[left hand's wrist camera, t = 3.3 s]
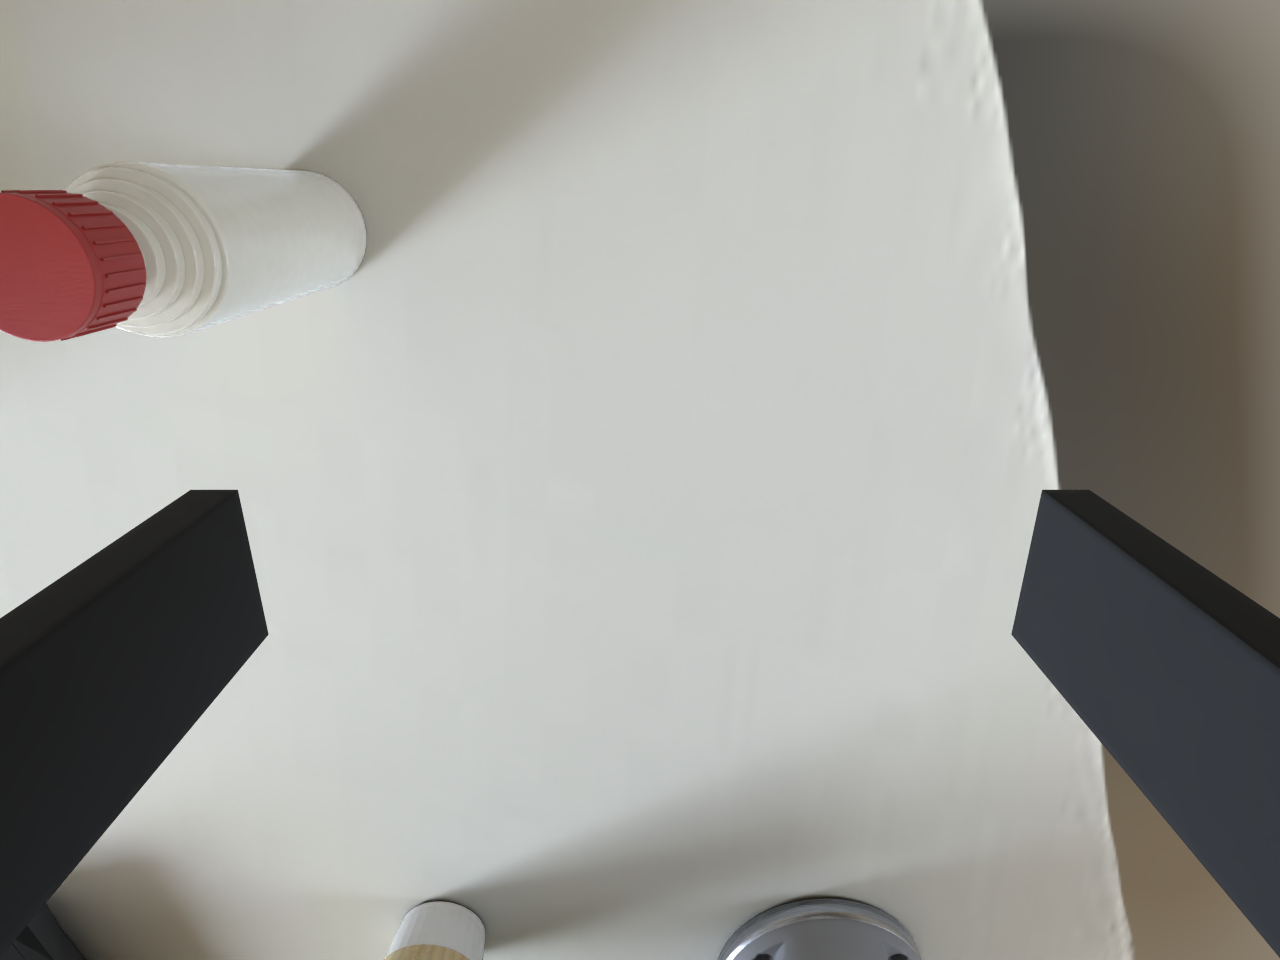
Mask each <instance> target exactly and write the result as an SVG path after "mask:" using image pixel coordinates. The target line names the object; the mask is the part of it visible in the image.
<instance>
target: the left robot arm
mask: <svg viewBox="0 0 1280 960" xmlns="http://www.w3.org/2000/svg"><path fill="white" fill-rule="evenodd" d="M267 636H268V630H267V625H266V621H265V616H264V611H263V607H262V602H261V597H260V592H259V588H258V583H257V578H256V574H255V569H254V564H253V560H252V555H251V550H250V545H249V541H248V536H247V531H246V527H245V522H244V517H243V512H242V508H241V503H240V498H239V494H238V490H190V491H188V492H187V493H185V494H184V495H183V496H181V497H180V498H178V499H177V500H175V501H174V502H172V503H171V504H169V505H168V506H166V507H165V508H163V509H162V510H160V511H159V512H157V513H156V514H154V515H153V516H151V517H150V518H148V519H147V520H145V521H144V522H143V523H141V524H140V525H138V526H137V527H135V528H134V529H132V530H131V531H129V532H128V533H126V534H125V535H123V536H122V537H120V538H119V539H117V540H116V541H114V542H113V543H111V544H110V545H108V546H107V547H105V548H104V549H103V550H101V551H100V552H98V553H97V554H95V555H94V556H92V557H91V558H89V559H88V560H86V561H85V562H83V563H82V564H80V565H79V566H77V567H76V568H74V569H73V570H71V571H70V572H68V573H67V574H66V575H64V576H63V577H61V578H60V579H58V580H57V581H55V582H54V583H52V584H51V585H49V586H48V587H46V588H45V589H43V590H42V591H40V592H39V593H37V594H36V595H34V596H33V597H31V598H30V599H28V600H27V601H26V602H24V603H23V604H21V605H20V606H18V607H17V608H15V609H14V610H12V611H11V612H9V613H8V614H6V615H5V616H3V617H2V618H0V957H1V956H2V955H3V954H4V953H5V951H6V950H7V949H8V948H9V947H10V945H11V944H12V943H13V942H14V941H15V939H16V938H17V937H18V936H19V934H20V933H21V932H22V931H23V930H24V928H25V927H26V926H27V925H28V924H29V922H30V921H31V920H32V919H33V918H34V916H35V915H36V914H37V913H38V912H39V910H40V909H41V908H42V907H43V906H44V904H45V903H46V902H47V901H48V900H49V898H50V897H51V896H52V895H53V894H54V892H55V891H56V890H57V889H58V887H59V886H60V885H61V884H62V883H63V881H64V880H65V879H66V878H67V877H68V875H69V874H70V873H71V872H72V871H73V869H74V868H75V867H76V866H77V865H78V863H79V862H80V861H81V860H82V859H83V857H84V856H85V855H86V854H87V853H88V851H89V850H90V849H91V848H92V847H93V845H94V844H95V843H96V842H97V840H98V839H99V838H100V837H101V836H102V834H103V833H104V832H105V831H106V830H107V828H108V827H109V826H110V825H111V824H112V822H113V821H114V820H115V819H116V818H117V816H118V815H119V814H120V813H121V812H122V810H123V809H124V808H125V807H126V806H127V804H128V803H129V802H130V801H131V800H132V798H133V797H134V796H135V795H136V793H137V792H138V791H139V790H140V789H141V787H142V786H143V785H144V784H145V783H146V781H147V780H148V779H149V778H150V777H151V775H152V774H153V773H154V772H155V771H156V769H157V768H158V767H159V766H160V765H161V763H162V762H163V761H164V760H165V759H166V757H167V756H168V755H169V754H170V753H171V751H172V750H173V749H174V748H175V746H176V745H177V744H178V743H179V742H180V740H181V739H182V738H183V737H184V736H185V734H186V733H187V732H188V731H189V730H190V728H191V727H192V726H193V725H194V724H195V722H196V721H197V720H198V719H199V718H200V716H201V715H202V714H203V713H204V712H205V710H206V709H207V708H208V707H209V705H210V704H211V703H212V702H213V701H214V699H215V698H216V697H217V696H218V695H219V693H220V692H221V691H222V690H223V689H224V687H225V686H226V685H227V684H228V683H229V681H230V680H231V679H232V678H233V677H234V675H235V674H236V673H237V672H238V671H239V669H240V668H241V667H242V666H243V665H244V663H245V662H246V661H247V660H248V658H249V657H250V656H251V655H252V654H253V652H254V651H255V650H256V649H257V648H258V646H259V645H260V644H261V643H262V642H263V640H264V639H265V638H266V637H267ZM1012 636H1013V637H1014V638H1015V639H1016V640H1017V642H1018V643H1019V644H1020V645H1021V646H1022V648H1023V649H1024V650H1025V651H1026V652H1027V654H1028V655H1029V656H1030V657H1031V658H1032V660H1033V661H1034V662H1035V663H1036V665H1037V666H1038V667H1039V668H1040V669H1041V671H1042V672H1043V673H1044V674H1045V675H1046V677H1047V678H1048V679H1049V680H1050V681H1051V683H1052V684H1053V685H1054V686H1055V687H1056V689H1057V690H1058V691H1059V692H1060V693H1061V695H1062V696H1063V697H1064V698H1065V699H1066V701H1067V702H1068V703H1069V704H1070V706H1071V707H1072V708H1073V709H1074V710H1075V712H1076V713H1077V714H1078V715H1079V716H1080V718H1081V719H1082V720H1083V721H1084V722H1085V724H1086V725H1087V726H1088V727H1089V728H1090V730H1091V731H1092V732H1093V733H1094V734H1095V736H1096V737H1097V738H1098V739H1099V740H1100V742H1101V743H1102V744H1103V745H1104V746H1105V748H1106V749H1107V750H1108V751H1109V752H1110V754H1111V755H1112V756H1113V757H1114V759H1115V760H1116V761H1117V762H1118V763H1119V765H1120V766H1121V767H1122V768H1123V769H1124V771H1125V772H1126V773H1127V774H1128V775H1129V777H1130V778H1131V779H1132V780H1133V781H1134V783H1135V784H1136V785H1137V786H1138V787H1139V789H1140V790H1141V791H1142V792H1143V793H1144V795H1145V796H1146V797H1147V798H1148V800H1149V801H1150V802H1151V803H1152V804H1153V805H1154V807H1155V808H1156V809H1157V810H1158V812H1159V813H1160V814H1161V815H1162V816H1163V818H1164V819H1165V820H1166V821H1167V822H1168V824H1169V825H1170V826H1171V827H1172V828H1173V830H1174V831H1175V832H1176V833H1177V834H1178V836H1179V837H1180V838H1181V839H1182V840H1183V842H1184V843H1185V844H1186V845H1187V847H1188V848H1189V849H1190V850H1191V851H1192V853H1193V854H1194V855H1195V856H1196V857H1197V859H1198V860H1199V861H1200V862H1201V863H1202V865H1203V866H1204V867H1205V868H1206V869H1207V871H1208V872H1209V873H1210V874H1211V875H1212V877H1213V878H1214V879H1215V880H1216V881H1217V883H1218V884H1219V885H1220V886H1221V887H1222V889H1223V890H1224V891H1225V892H1226V893H1227V895H1228V896H1229V897H1230V898H1231V900H1232V901H1233V902H1234V903H1235V904H1236V905H1237V907H1238V908H1239V909H1240V910H1241V912H1242V913H1243V914H1244V915H1245V916H1246V918H1247V919H1248V920H1249V921H1250V922H1251V924H1252V925H1253V926H1254V927H1255V928H1256V930H1257V931H1258V932H1259V933H1260V934H1261V936H1262V937H1263V938H1264V939H1265V940H1266V942H1267V943H1268V944H1269V945H1270V947H1271V948H1272V949H1273V950H1274V951H1275V953H1276V954H1277V955H1278V956H1279V957H1280V618H1278V617H1277V616H1275V615H1274V614H1272V613H1271V612H1269V611H1268V610H1266V609H1265V608H1263V607H1262V606H1260V605H1259V604H1257V603H1256V602H1254V601H1253V600H1251V599H1250V598H1249V597H1247V596H1246V595H1244V594H1243V593H1241V592H1240V591H1238V590H1237V589H1235V588H1234V587H1232V586H1231V585H1229V584H1228V583H1226V582H1225V581H1223V580H1222V579H1220V578H1219V577H1217V576H1216V575H1214V574H1213V573H1212V572H1210V571H1209V570H1207V569H1206V568H1204V567H1203V566H1201V565H1200V564H1198V563H1197V562H1195V561H1194V560H1192V559H1191V558H1189V557H1188V556H1186V555H1185V554H1183V553H1182V552H1180V551H1179V550H1177V549H1176V548H1175V547H1173V546H1172V545H1170V544H1169V543H1167V542H1166V541H1164V540H1163V539H1161V538H1160V537H1158V536H1157V535H1155V534H1154V533H1152V532H1151V531H1149V530H1148V529H1146V528H1145V527H1143V526H1142V525H1140V524H1139V523H1137V522H1136V521H1134V520H1133V519H1132V518H1130V517H1129V516H1127V515H1126V514H1124V513H1123V512H1121V511H1120V510H1118V509H1117V508H1115V507H1114V506H1112V505H1111V504H1109V503H1108V502H1106V501H1105V500H1103V499H1102V498H1100V497H1099V496H1097V495H1096V494H1094V493H1093V492H1091V491H1090V490H1042V494H1041V498H1040V503H1039V508H1038V512H1037V517H1036V522H1035V527H1034V531H1033V536H1032V541H1031V545H1030V550H1029V555H1028V560H1027V564H1026V569H1025V574H1024V578H1023V583H1022V588H1021V592H1020V597H1019V602H1018V607H1017V611H1016V616H1015V621H1014V625H1013V630H1012ZM718 960H921V958H920V955H919V952H918V950H917V947H916V944H915V942H914V940H913V938H912V937H911V935H910V934H909V932H908V931H907V930H906V929H905V927H904V926H903V925H902V924H901V923H899V922H898V921H897V920H896V919H894V918H893V917H892V916H890V915H888V914H887V913H885V912H883V911H881V910H879V909H877V908H875V907H872V906H869V905H866V904H863V903H859V902H855V901H849V900H842V899H810V900H802V901H797V902H792V903H788V904H785V905H782V906H779V907H775V908H773V909H771V910H768V911H766V912H764V913H762V914H760V915H758V916H756V917H755V918H753V919H751V920H750V921H748V922H747V923H746V924H744V925H743V926H742V927H741V928H739V929H738V930H737V931H736V932H735V933H734V934H733V935H732V936H731V938H730V939H729V940H728V942H727V943H726V944H725V946H724V948H723V949H722V951H721V953H720V956H719V958H718Z"/></svg>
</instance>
